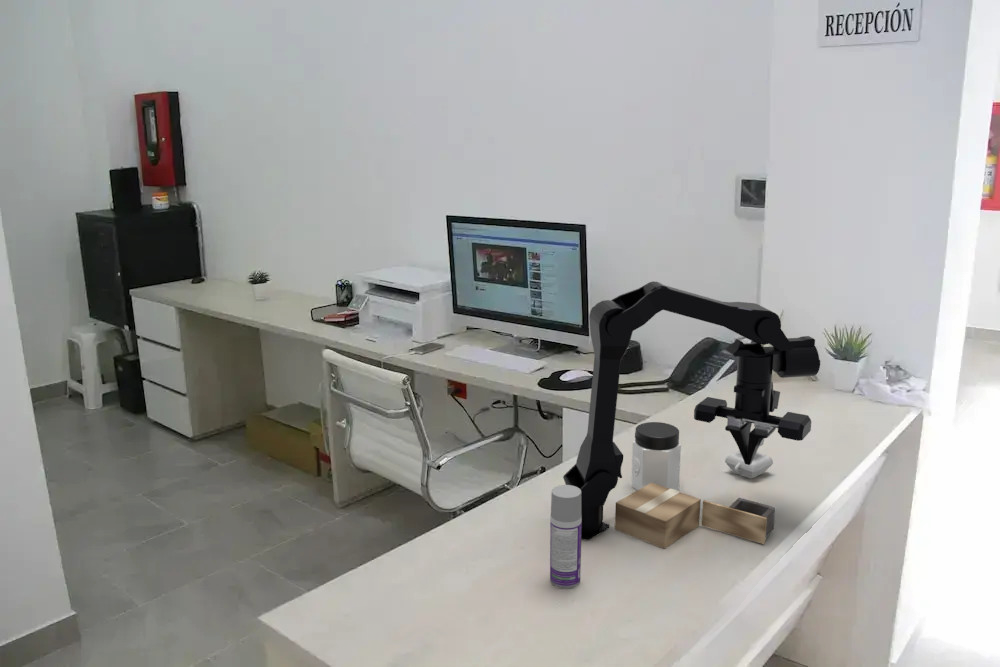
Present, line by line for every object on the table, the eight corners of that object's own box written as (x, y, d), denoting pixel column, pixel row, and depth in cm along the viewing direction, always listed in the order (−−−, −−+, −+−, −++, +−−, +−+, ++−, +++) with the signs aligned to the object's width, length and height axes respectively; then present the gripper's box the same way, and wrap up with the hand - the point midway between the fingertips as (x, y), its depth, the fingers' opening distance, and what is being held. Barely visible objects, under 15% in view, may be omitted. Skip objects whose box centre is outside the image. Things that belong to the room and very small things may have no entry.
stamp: (748, 485, 161) (751, 444, 158) (720, 474, 166) (722, 434, 163) (775, 473, 166) (779, 433, 164) (747, 462, 171) (750, 424, 169)
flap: (773, 532, 142) (776, 507, 141) (763, 544, 138) (766, 518, 137) (712, 515, 148) (714, 490, 147) (701, 525, 145) (702, 500, 143)
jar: (625, 481, 163) (626, 423, 160) (662, 475, 165) (665, 418, 162) (646, 501, 154) (648, 440, 151) (685, 495, 157) (688, 435, 154)
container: (561, 569, 132) (562, 481, 128) (586, 579, 129) (588, 490, 125) (543, 581, 128) (544, 492, 124) (569, 592, 125) (570, 501, 122)
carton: (664, 549, 138) (665, 520, 136) (614, 529, 144) (615, 502, 143) (699, 525, 145) (700, 498, 144) (650, 507, 152) (651, 481, 151)
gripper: (823, 375, 143) (815, 460, 147) (718, 358, 153) (713, 438, 157) (805, 393, 134) (797, 482, 138) (694, 374, 144) (690, 458, 148)
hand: (748, 463), depth 146 cm, fingers closed
